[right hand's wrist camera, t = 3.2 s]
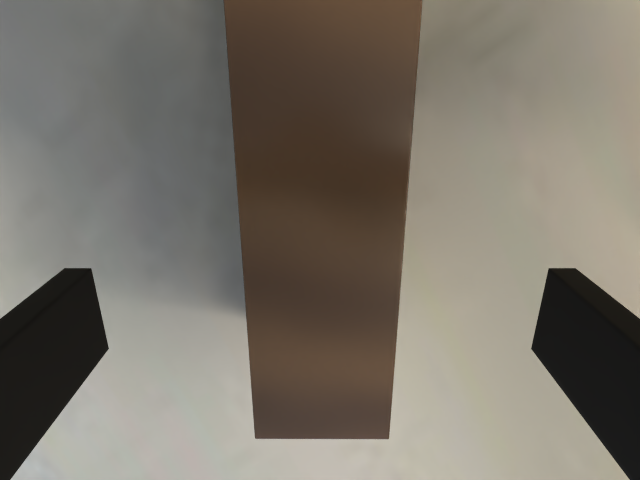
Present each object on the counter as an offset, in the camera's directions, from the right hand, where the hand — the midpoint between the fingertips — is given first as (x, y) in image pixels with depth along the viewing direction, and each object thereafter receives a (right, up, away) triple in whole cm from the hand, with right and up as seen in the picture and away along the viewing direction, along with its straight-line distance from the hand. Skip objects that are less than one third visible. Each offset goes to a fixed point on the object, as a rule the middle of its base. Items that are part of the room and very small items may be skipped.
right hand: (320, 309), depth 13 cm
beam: (0, +21, +4) cm, 22 cm away
